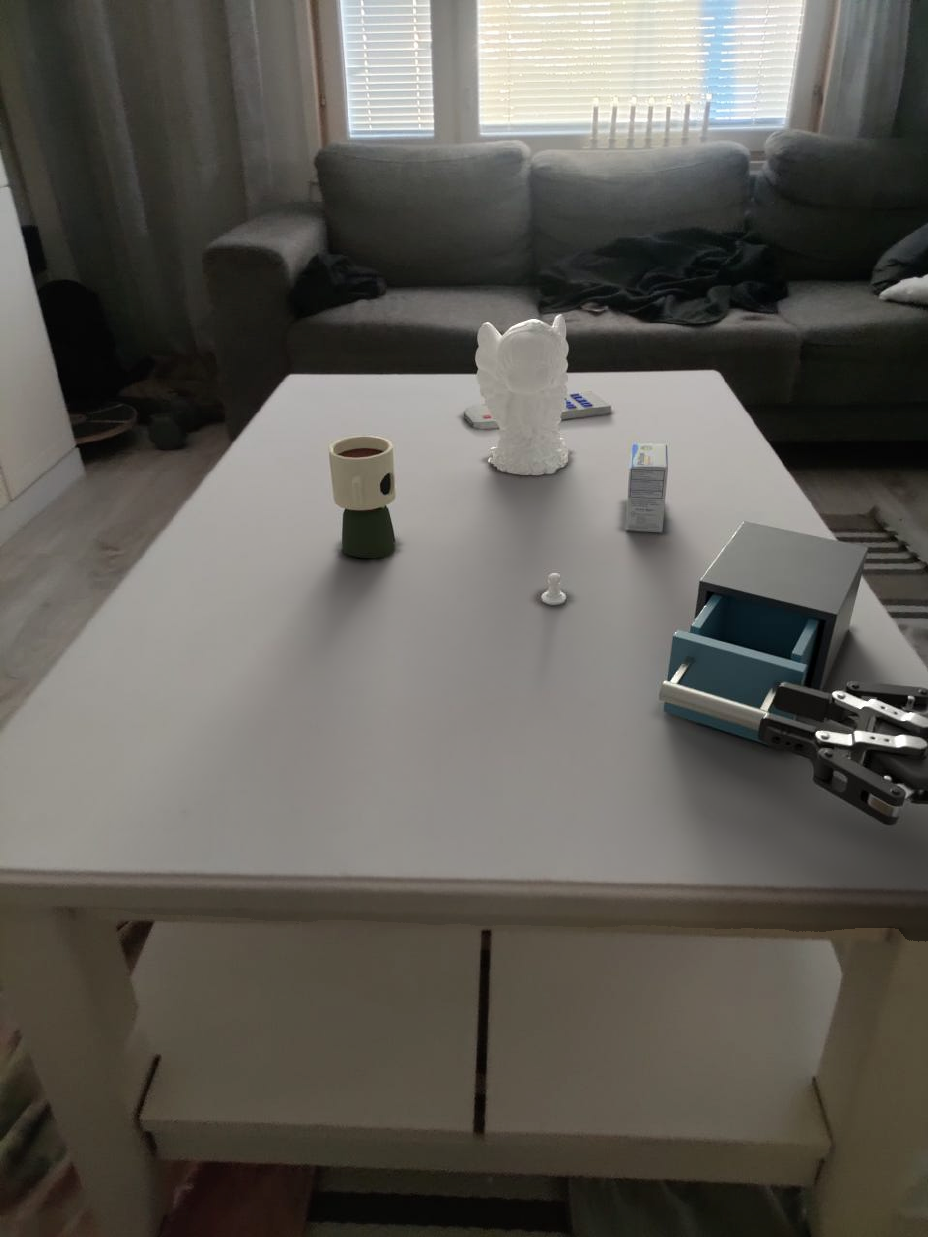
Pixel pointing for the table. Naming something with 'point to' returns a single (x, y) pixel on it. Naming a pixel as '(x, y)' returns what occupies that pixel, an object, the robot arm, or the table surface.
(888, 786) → the robot arm
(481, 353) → the cherub figurine
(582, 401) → the remote control
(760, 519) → the table surface
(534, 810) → the table surface
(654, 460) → the medicine box
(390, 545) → the character mug
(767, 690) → the open teal drawer
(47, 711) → the table surface
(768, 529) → the small drawer unit
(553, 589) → the chess pawn
